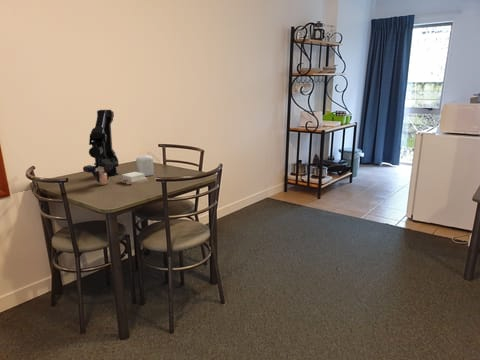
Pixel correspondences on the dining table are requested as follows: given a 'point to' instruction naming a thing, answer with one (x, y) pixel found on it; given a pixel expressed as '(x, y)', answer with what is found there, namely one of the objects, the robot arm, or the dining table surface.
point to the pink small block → (103, 178)
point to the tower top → (133, 176)
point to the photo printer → (145, 165)
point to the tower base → (133, 181)
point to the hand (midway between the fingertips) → (102, 181)
